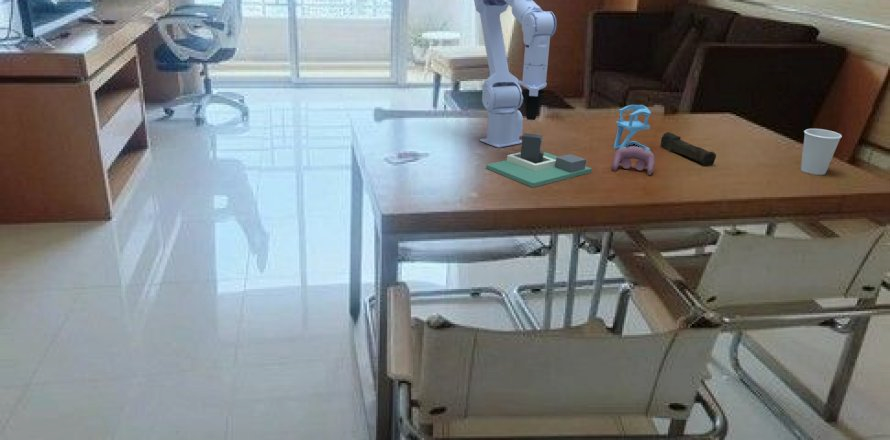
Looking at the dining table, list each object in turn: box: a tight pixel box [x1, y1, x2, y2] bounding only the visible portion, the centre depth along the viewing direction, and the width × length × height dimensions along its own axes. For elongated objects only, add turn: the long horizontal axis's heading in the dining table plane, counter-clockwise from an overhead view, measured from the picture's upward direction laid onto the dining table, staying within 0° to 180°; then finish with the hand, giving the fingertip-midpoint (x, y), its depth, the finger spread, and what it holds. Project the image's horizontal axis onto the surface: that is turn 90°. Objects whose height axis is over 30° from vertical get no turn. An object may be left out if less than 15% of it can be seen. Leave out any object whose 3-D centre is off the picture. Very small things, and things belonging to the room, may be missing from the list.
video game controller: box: [612, 145, 656, 176], centre depth 164 cm, size 10×5×7 cm, turn 72°
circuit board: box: [485, 151, 593, 188], centre depth 161 cm, size 20×16×4 cm
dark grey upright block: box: [519, 132, 545, 164], centre depth 162 cm, size 3×6×7 cm, turn 76°
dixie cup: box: [800, 128, 843, 176], centre depth 167 cm, size 8×8×10 cm
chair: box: [613, 104, 652, 151], centre depth 180 cm, size 8×8×12 cm
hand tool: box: [660, 131, 717, 167], centre depth 177 cm, size 19×4×5 cm, turn 20°
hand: (530, 119), depth 166 cm, fingers closed
